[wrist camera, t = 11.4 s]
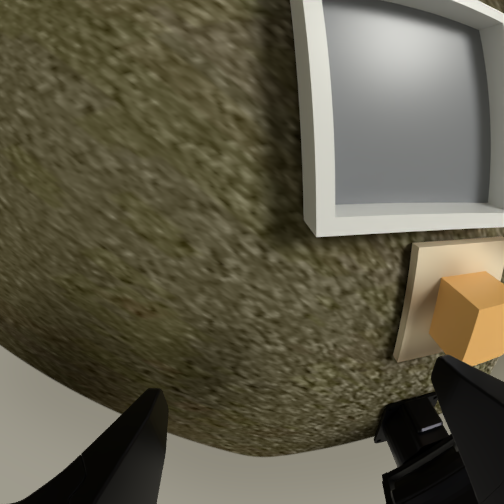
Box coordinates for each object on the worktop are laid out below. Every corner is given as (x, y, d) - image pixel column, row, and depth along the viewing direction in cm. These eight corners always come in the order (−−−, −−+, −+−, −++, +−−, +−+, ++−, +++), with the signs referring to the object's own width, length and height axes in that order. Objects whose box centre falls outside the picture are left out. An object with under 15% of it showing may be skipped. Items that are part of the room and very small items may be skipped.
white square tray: (490, 213, 19) (518, 226, 16) (303, 220, 19) (316, 237, 16) (481, 24, 14) (508, 16, 11) (287, -19, 14) (296, -46, 10)
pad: (477, 334, 24) (482, 340, 23) (392, 355, 24) (397, 362, 23) (501, 236, 20) (508, 240, 19) (412, 242, 20) (419, 247, 19)
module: (471, 323, 22) (503, 354, 17) (428, 333, 22) (458, 370, 17) (485, 271, 20) (523, 298, 15) (441, 277, 20) (479, 309, 15)
